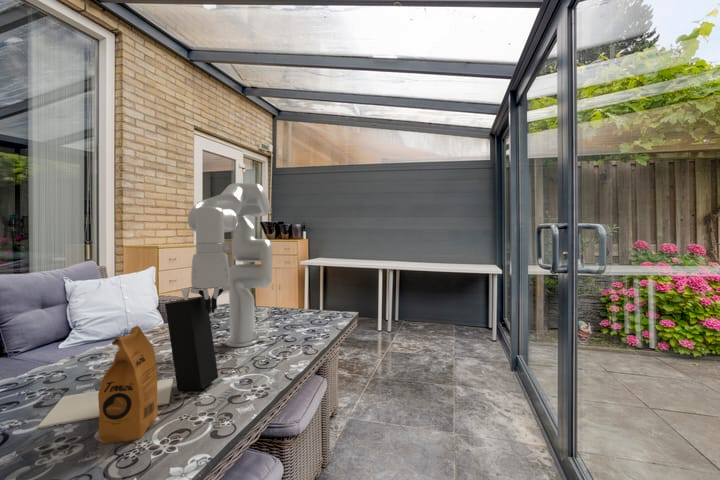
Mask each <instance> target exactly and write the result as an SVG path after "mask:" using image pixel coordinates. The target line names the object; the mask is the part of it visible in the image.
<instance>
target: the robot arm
mask: <svg viewBox="0 0 720 480" xmlns="http://www.w3.org/2000/svg"><path fill="white" fill-rule="evenodd" d="M270 207H271V206H270V200H269V198H268V195H267V192H266V191H265V189H264V187H263V186H262V185H261V184H259V183H257V182H256V183H255V182H253V183H251V182H247V183H246V182H244V183H242V182H236V183H235V182H234V183H230V184H229V185H228V186H226V188H225V189H224V190H223V191H222V192H221V193H220V194H218V195H215V196H212V197H210V198H206V199H203V200H201V201H198V202H196V203H195V205H194V206H192V208H191V209H190V211H189V213H188V215H187V224H188V227H189V228H190V230H192V231H193V232H195V253H194V254H193V255H192V260H191V273H190V274H191V277H190V279H191V281H190V283H191V288H190V294H195V295H200V296H202V297H204V298H205V306H206V310H208V313H209V314H211V313H215V310H217V309H218V302H217V301H218V298H219V296H220V295H222V293H225V292H228V297H229V298H228V299H229V301H228V302H229V304H228V305H229V337H228V338H227V339H226V340H225V346H227V347H230V348H243V347H249V346H253V345H255V344H257V343H259V341H260V340H259V339H260V338H259V337H265V336H267V332H268V331H267V330H262V329H261V330H256V328H255V323H256V322H255V297H254V295H253V293H252V292H251V291H250V289H262V288H268V287H270V285H271V284H272V280H273V256H274V255H273V253H274V251H273V244H272V242H271V241H270V240H269V239H268V238H256V228H255V225H254V224H253V223H252V222H251V221H250V219H249V218H248V217H264V216H265V217H266V216H268V214H269V212H270V209H271V208H270ZM230 232H233V238H232V252H231V253H232V254H231V255H232V258H233V260H234V261H236V262H240V263H241V262H242V263H241V264H234V265H232V266H229V265H230V264H229V257H228V254H227V253H225V251H228V250H230V244H225V233H230ZM250 262H251V263H252V264H243V263H250ZM256 262H257V264H256ZM253 263H255V264H253ZM259 263H260V264H259ZM209 289H210V290H211V289H213V293H212V295H211V296H210V295H209V294H210V293H209Z"/></svg>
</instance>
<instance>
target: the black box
mask: <svg viewBox="0 0 720 480" xmlns="http://www.w3.org/2000/svg"><path fill="white" fill-rule="evenodd" d="M180 291H181V294H182V296H183V298H181V299H178V300H175V301H174V300H173V301H170V302H167V303H164V306H165V313H166V318H167V319H166V320H167V326H168V333H169V338H170V347H171V354H172V360H173V368H174V375H175V376H174V377H175V381H176V382H175V383H176V389H177V391H185V390H186V391H187V390H197V389H198V390H201V389H203V388H205V387H206V386H207V385H209V384H211V383H212V382H214V381H215V380H216V381H217V379H218V378H219V374H218V365H217V358H216V352H215V344H214V338H213V337H214V336H213V331H212V324H211V318H210V317H211V316H210V313H208V310H206V306H205V298H204V297H202V296H201V295H200V296H193V297H189V295H190V293H191V288H180Z"/></svg>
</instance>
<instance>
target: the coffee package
mask: <svg viewBox="0 0 720 480" xmlns="http://www.w3.org/2000/svg"><path fill="white" fill-rule="evenodd" d="M111 344H112V345H113V346H117V347H118V350H117V351H116V354H115V357H114V359H113V362H112V364H111V365H110V367H108V369H107V371H106V372H105V373H104V375H103V377H102V378H101V382H100V385H99V390H98V391H99V393H98V401H99V417H98V421H99V423H98V439H99V440H100V441H101V443H102V444H109V443H121V442H126V443H127V442H131V441H136V440H139V439H141V438H142V437H143V436H144V434H145V433H146V431H147V429H148V428H149V427H152V426H153V425H154V424H155V423H156V419H157V417H158V414H159V411H158V406H157V381H159V380H158V368H157V360H156V354H155V350H154V348H153V345H152V344H151V341H149V340H148V338H147V336H146V335H145V333H144V332H143V331H142V329H141V327H140V326H139V325H136V326H134V327H132V328H131V329H130V332H129V334H126V335H124V336H123V335H122V336H120V337H116V338H115V339H114V340H113V341H112V343H111Z"/></svg>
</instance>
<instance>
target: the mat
mask: <svg viewBox="0 0 720 480" xmlns="http://www.w3.org/2000/svg"><path fill="white" fill-rule="evenodd" d="M173 382H174V378H167V379H160V380H157V407H159V406H165V405H169V404H170V399H171V394H172V389H173V388H172V387H173ZM98 393H99V390H94V391H87V392H82V393H76V394H69V395H63V396H62V397H61V398H60V399H59V401H58V402H57V403H56V404H55V405H54V406H53V408H52V409H51V410H50V411H49V413H47V415H46V416H45V417H44V418H43V419H42V421H41V422H40V423H39V424H38V425H37V430H40V429H44V428H49V427H55V426H54V425H56V426H60V425H59V424H61V425H66V424H70V423H76V422H81V421H86V420H91V419H97V418H99V401H98ZM39 428H40V429H39Z"/></svg>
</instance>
